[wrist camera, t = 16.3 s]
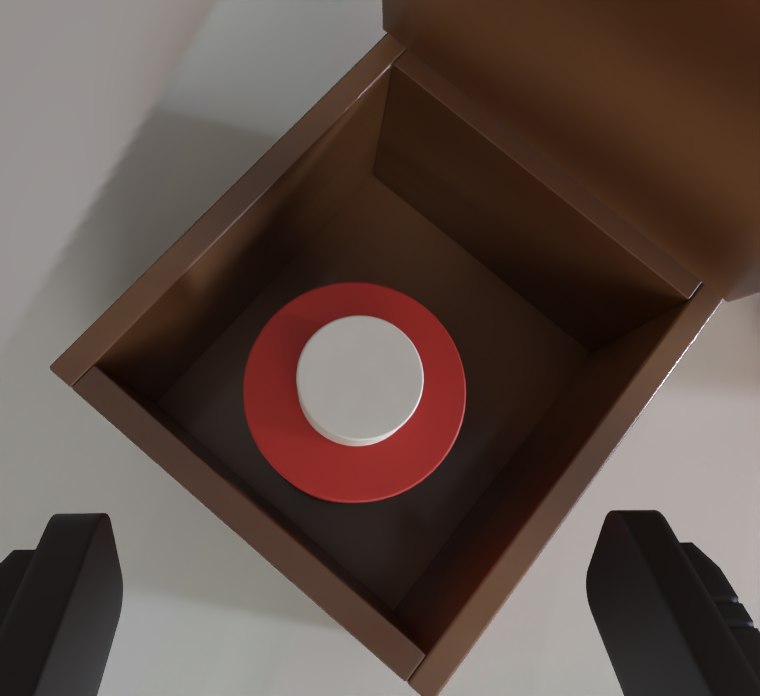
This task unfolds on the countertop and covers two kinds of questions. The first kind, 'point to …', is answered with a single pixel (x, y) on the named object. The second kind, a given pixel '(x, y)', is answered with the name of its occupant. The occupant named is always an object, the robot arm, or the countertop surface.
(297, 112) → the countertop surface
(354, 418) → the sauce bottle
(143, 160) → the countertop surface
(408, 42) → the lid
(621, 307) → the chest
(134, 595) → the countertop surface
